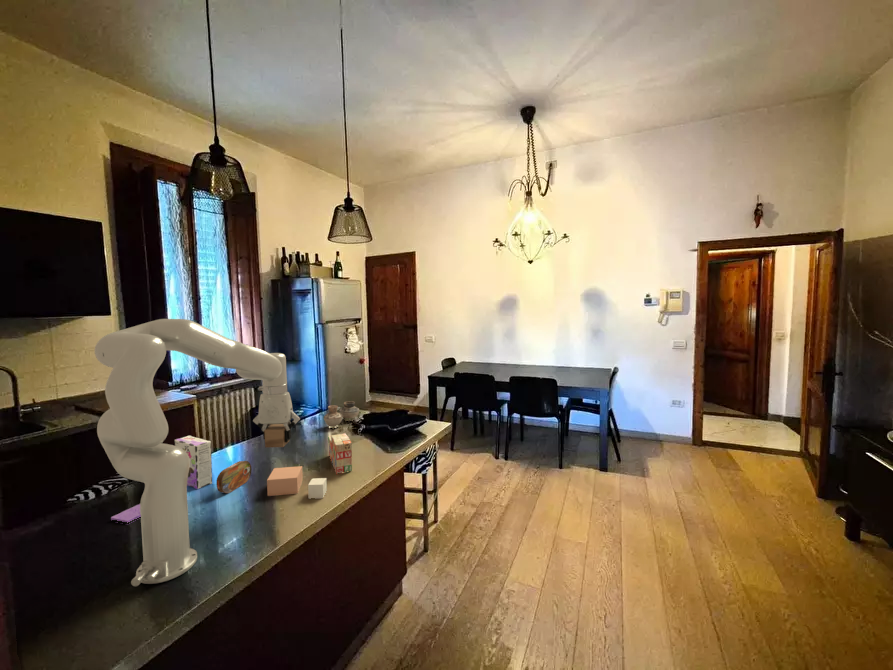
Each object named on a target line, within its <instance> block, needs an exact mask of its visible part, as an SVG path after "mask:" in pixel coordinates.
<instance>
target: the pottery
mask: <svg viewBox="0 0 893 670" xmlns="http://www.w3.org/2000/svg"><path fill="white" fill-rule="evenodd" d="M355 403H356V402H355V401H353V400H351V401H350V400H349V401H344V402H343V407H342V408H340V409H339V412H338V408H339V406H338V405H335V404H334V405H329V406H328V407H327V408H328V413H326V414H325V415H324V416H323V420H324V422H325V424H326V425H327V426H336V425H338V424H339V425H340V423H341V422H342V420H343V419H344V418H354V417H356V416H357V417H358V415H359V413H360V408H358V407H357V406H355ZM342 417H343V418H342ZM357 417H356V418H357Z"/></svg>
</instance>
